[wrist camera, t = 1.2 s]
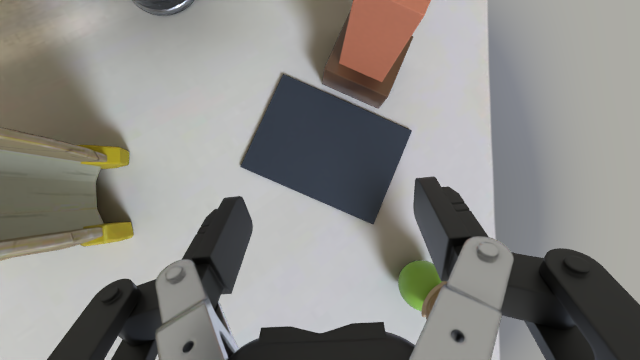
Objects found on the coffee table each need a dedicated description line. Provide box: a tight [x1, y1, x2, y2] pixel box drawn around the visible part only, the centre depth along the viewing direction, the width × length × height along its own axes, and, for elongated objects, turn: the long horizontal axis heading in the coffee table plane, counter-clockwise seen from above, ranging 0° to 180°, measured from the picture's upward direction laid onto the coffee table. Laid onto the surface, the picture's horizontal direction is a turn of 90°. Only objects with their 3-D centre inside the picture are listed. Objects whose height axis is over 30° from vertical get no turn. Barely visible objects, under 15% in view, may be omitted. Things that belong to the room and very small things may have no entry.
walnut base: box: [322, 10, 413, 108], centre depth 32 cm, size 8×8×4 cm
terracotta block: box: [339, 0, 431, 82], centre depth 24 cm, size 5×5×11 cm
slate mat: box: [241, 74, 411, 224], centre depth 33 cm, size 18×13×1 cm
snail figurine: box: [398, 260, 447, 319], centre depth 26 cm, size 5×6×12 cm
